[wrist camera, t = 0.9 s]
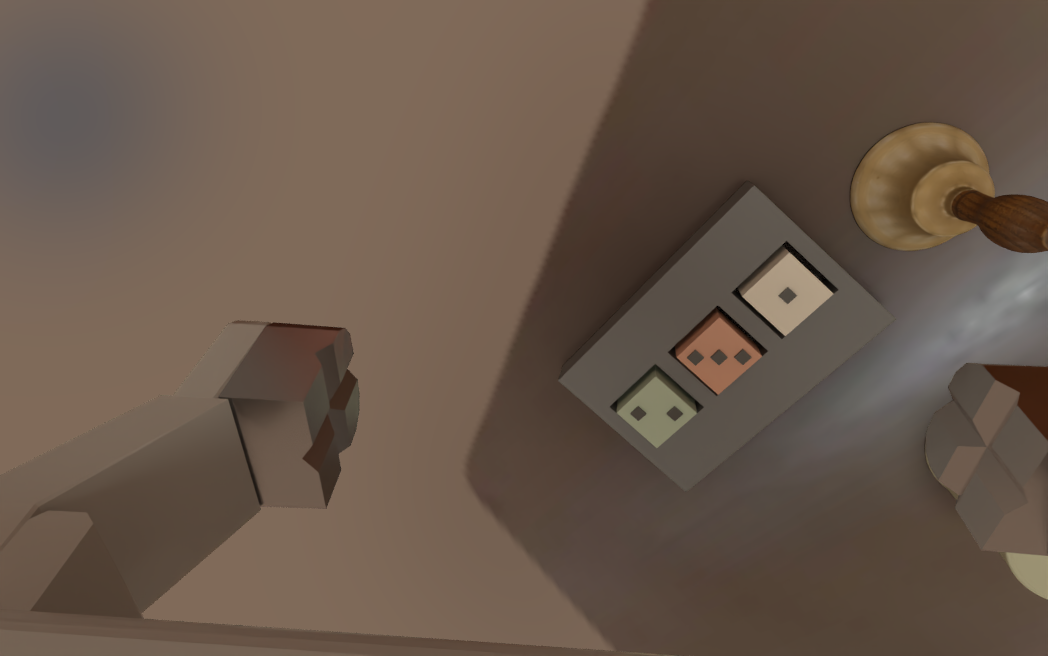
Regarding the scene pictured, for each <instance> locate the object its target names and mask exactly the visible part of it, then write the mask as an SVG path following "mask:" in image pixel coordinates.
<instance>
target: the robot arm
mask: <svg viewBox="0 0 1048 656" xmlns="http://www.w3.org/2000/svg"><path fill="white" fill-rule="evenodd" d="M353 354H354V353H353V347H352V343H351V337H350V333H349V332H348V331H347V330H346V329H345V328H341V327H327V326H314V325H301V324H288V323H269V322H259V321H239V320H238V321H234V322H231V323H228V324H227V325H226V327H225V328H224V330H223V331H222V332H221V333H220V335H219V336H218V337H217V339H216V340H215V341H214V342H213V344H212V345H211V346H210V348H209V349H208V350H207V352H206V353H205V354H204V355H203V357H202V358H201V359H200V361H199V362H198V363H197V364H196V366H195V367H194V368H193V370H192V371H191V372H190V374H189V375H188V376H187V378H186V379H185V380H184V382H183V383H182V384H181V385H180V387H179V388H178V389H177V391H176V392H175V393H174V394H173V396H167V395H160V396H158V397H156V398H154V399H152V400H150V401H148V402H146V403H144V404H142V405H140V406H138V407H136V408H134V409H132V410H130V411H128V412H126V413H124V414H122V415H120V416H118V417H116V418H114V419H112V420H110V421H108V422H106V423H104V424H102V425H100V426H98V427H96V428H94V429H92V430H90V431H88V432H86V433H84V434H82V435H80V436H78V437H76V438H74V439H72V440H70V441H68V442H66V443H64V444H62V445H60V446H58V447H56V448H54V449H52V450H50V451H48V452H46V453H44V454H42V455H40V456H38V457H36V458H34V459H32V460H30V461H28V462H26V463H24V464H22V465H20V466H18V467H16V468H14V469H12V470H10V471H8V472H6V473H4V474H2V475H0V656H678V655H664V654H649V653H634V652H620V651H605V650H590V649H577V648H562V647H547V646H533V645H519V644H505V643H490V642H476V641H461V640H447V639H433V638H417V637H404V636H389V635H375V634H374V635H373V634H360V633H345V632H331V631H316V630H301V629H286V628H272V627H257V626H256V627H255V626H243V625H227V624H213V623H197V622H184V621H169V620H154V619H144V618H143V615H142V612H144V611H145V610H146V609H147V608H148V607H149V606H150V605H152V604H153V603H154V602H155V601H156V600H158V599H159V598H160V597H161V596H162V595H163V594H164V593H166V592H167V591H168V590H169V589H170V588H171V587H172V586H174V585H175V584H176V583H177V582H178V581H179V580H181V579H182V578H183V577H184V576H185V575H186V574H188V573H189V572H190V571H191V570H192V569H193V568H194V567H196V566H197V565H198V564H199V563H200V562H201V561H203V560H204V559H205V558H206V557H207V556H208V555H210V554H211V553H212V552H213V551H214V550H215V549H216V548H218V547H219V546H220V545H221V544H222V543H223V542H224V541H226V540H227V539H228V538H229V537H230V536H232V535H233V534H234V533H235V532H236V531H237V530H238V529H240V528H241V527H242V526H243V525H244V524H245V523H246V522H248V521H249V520H250V519H251V518H252V517H253V516H254V515H256V514H257V513H258V512H259V511H260V510H261V508H260V506H263V507H290V508H318V509H326V508H327V505H328V502H329V500H330V498H331V495H332V492H333V490H334V487H335V485H336V482H337V479H338V477H339V474H340V472H341V466H340V460H339V453H340V452H342V451H343V450H345V449H346V448H348V447H349V446H350V445H351V443H352V440H353V437H354V434H355V432H356V427H357V422H358V415H359V387H358V379H357V378H355V376H354V375H353V374H352V373H351V372H350V371H349V370H348V369H347V368H348V365H349V362H350V361H351V358H352V356H353ZM948 389H949V391H950V394H951V396H952V399H953V401H951V402H950V403H948V404H947V405H945V406H944V407H942V408H941V409H939V410H938V411H936V412H935V413H934V415H933V417H932V420H931V422H930V424H929V426H928V428H927V431H926V449H925V451H926V455H927V458H928V462H929V465H930V467H931V469H932V471H933V473H934V474H935V476H936V478H937V479H938V481H939V482H941V483H942V484H944V485H945V486H946V487H948V488H949V489H951V490H952V491H954V492H955V493H956V494H958V499H957V502H956V505H955V509H956V510H957V512H958V514H959V515H960V517H961V518H962V520H963V522H964V523H965V525H966V526H967V528H968V530H969V531H970V533H971V534H972V536H973V538H974V539H975V541H976V542H977V544H978V546H979V547H980V549H981V550H985V551H996V552H1007V553H1019V554H1030V555H1041V556H1048V366H1046V367H1044V366H1022V365H1000V364H978V363H966V364H965V365H964V366H963V367H961V368H960V369H959V370H958V371H957V372H956V373H955V375H954V377H953V379H952V380H951V382H950V384H949V386H948Z"/></svg>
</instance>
